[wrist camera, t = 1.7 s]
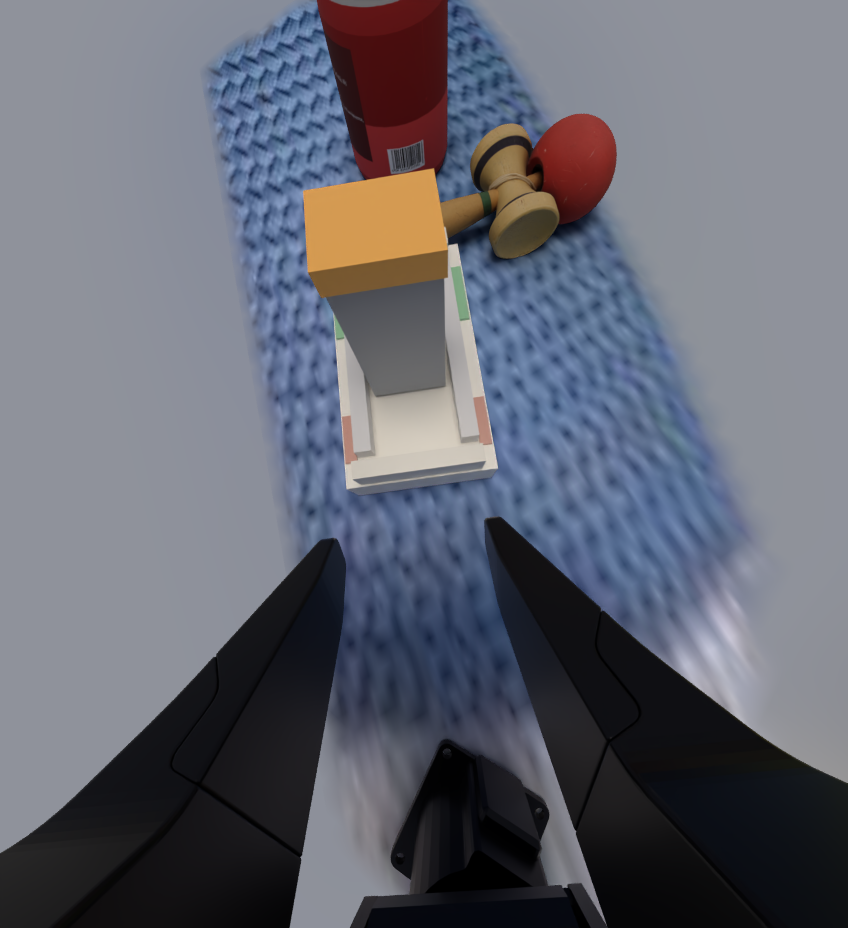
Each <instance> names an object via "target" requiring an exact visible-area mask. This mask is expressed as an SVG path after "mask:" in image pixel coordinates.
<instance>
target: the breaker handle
mask: <svg viewBox="0 0 848 928" xmlns="http://www.w3.org/2000/svg"><path fill="white" fill-rule="evenodd" d="M303 194H304V211H305V229H306V246H307V264H308V273H309V275H310V277H311V279H312V281H313V283H314V285H315V287H316V289H317V291H318V293H319V295H320V296H321V298H324V297H326V298H327V301H328V303H329V305H330V307H331V309H332V311H333V313H334V315H335V317H336V319H337V321H338V323H339V325H340V327H341V329H342V331H343V333H344V335H345V337H346V339H347V341H348V343H349V345H350V347H351V349H352V351H353V353H354V355H355V357H356V359H357V361H358V363H359V365H360V367H361V369H362V371H363V373H364V375H365V377H366V379H367V381H368V383H369V385H370V387H371V389H372V391H373V393H374V395H375V396H379V395H386V394H392V393H399V392H406V391H413V390H420V389H426V388H433V387H440V386H446V373H445V288H444V278H448V247H447V241H446V236H445V230H444V224H443V218H442V212H441V207H440V201H439V195H438V189H437V183H436V178H435V172H434V168H433V169H428V170H422V171H416V172H410V173H404V174H398V175H393V176H387V177H381V178H375V179H369V180H363V181H358V182H352V183H346V184H340V185H334V186H328V187H323V188H317V189H311V190H305V191H303Z"/></svg>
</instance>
